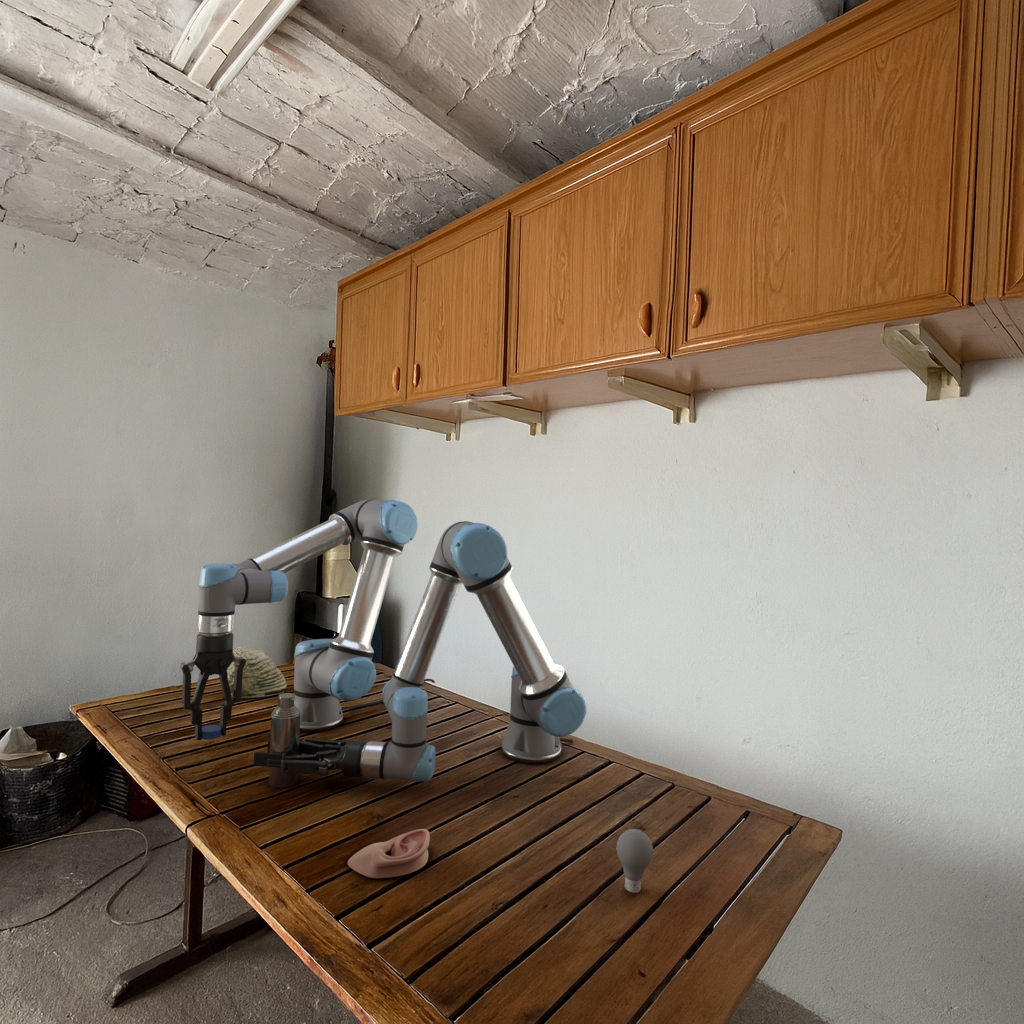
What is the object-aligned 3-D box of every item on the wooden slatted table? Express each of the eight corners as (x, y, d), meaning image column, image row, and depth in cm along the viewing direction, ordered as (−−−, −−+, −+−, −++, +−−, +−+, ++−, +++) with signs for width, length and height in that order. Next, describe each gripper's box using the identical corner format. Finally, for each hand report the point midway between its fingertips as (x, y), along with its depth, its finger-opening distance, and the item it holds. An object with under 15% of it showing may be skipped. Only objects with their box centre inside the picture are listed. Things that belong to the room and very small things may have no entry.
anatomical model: (339, 849, 107) (368, 816, 118) (339, 872, 107) (367, 837, 118) (414, 862, 104) (436, 827, 115) (413, 885, 104) (435, 848, 116)
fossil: (218, 695, 195) (220, 647, 195) (278, 685, 208) (279, 640, 207) (228, 703, 189) (230, 653, 188) (289, 692, 201) (290, 645, 201)
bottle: (303, 781, 140) (306, 695, 140) (276, 790, 136) (279, 701, 135) (289, 772, 144) (292, 689, 144) (263, 780, 140) (266, 694, 140)
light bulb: (610, 879, 108) (613, 822, 108) (644, 879, 109) (647, 822, 109) (619, 902, 102) (622, 840, 102) (655, 901, 103) (658, 840, 103)
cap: (203, 732, 144) (204, 724, 144) (224, 732, 145) (225, 725, 145) (195, 739, 140) (195, 731, 140) (217, 739, 140) (217, 732, 140)
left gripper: (175, 639, 134) (170, 749, 134) (260, 632, 145) (255, 734, 145) (168, 632, 140) (163, 738, 140) (251, 626, 151) (246, 724, 151)
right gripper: (350, 796, 130) (240, 788, 131) (375, 758, 149) (279, 752, 150) (351, 760, 129) (241, 752, 131) (376, 726, 149) (280, 720, 150)
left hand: (210, 736), depth 142 cm, fingers closed on cap, 4 cm apart
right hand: (261, 752), depth 140 cm, fingers closed on bottle, 6 cm apart
